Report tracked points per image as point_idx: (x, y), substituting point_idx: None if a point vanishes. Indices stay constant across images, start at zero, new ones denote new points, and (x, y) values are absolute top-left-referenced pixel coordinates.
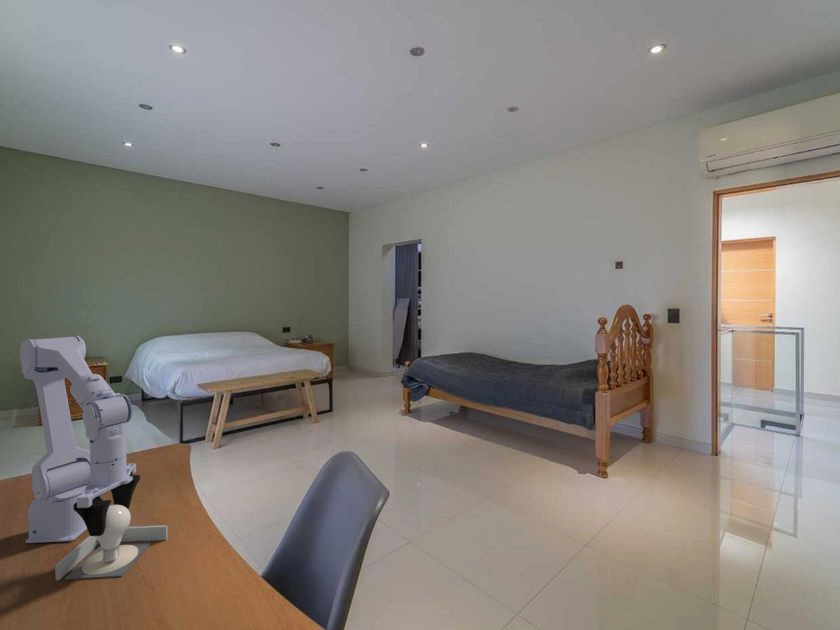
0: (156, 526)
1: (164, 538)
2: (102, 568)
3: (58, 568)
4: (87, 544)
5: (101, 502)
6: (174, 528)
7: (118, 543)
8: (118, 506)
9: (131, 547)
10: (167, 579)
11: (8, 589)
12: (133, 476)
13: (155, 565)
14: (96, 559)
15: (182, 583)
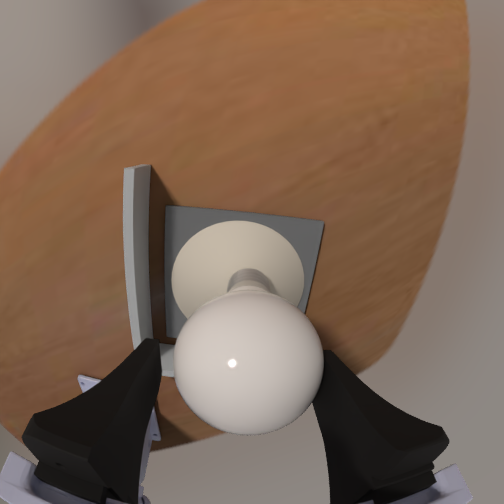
0: (129, 207)
1: (149, 171)
2: (279, 287)
3: None
4: None
5: (410, 466)
6: (91, 169)
7: (258, 287)
8: (239, 398)
9: (187, 255)
10: (360, 93)
11: None
12: (51, 461)
13: (289, 143)
14: None
15: (380, 57)
